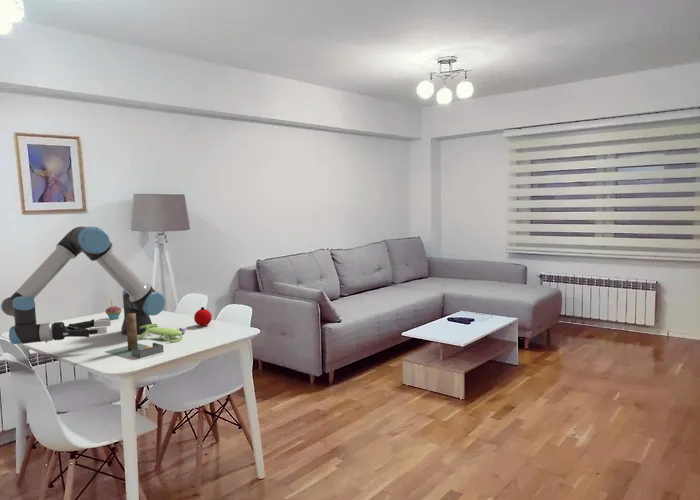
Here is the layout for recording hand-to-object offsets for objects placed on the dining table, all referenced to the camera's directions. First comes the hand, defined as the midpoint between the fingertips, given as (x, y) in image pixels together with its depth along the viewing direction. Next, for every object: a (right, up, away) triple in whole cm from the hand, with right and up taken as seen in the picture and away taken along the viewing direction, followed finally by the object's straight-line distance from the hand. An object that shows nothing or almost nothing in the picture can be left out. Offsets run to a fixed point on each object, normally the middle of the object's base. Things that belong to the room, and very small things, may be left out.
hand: (108, 326), depth 220 cm
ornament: (+27, -7, +50) cm, 58 cm away
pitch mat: (+8, -12, +3) cm, 15 cm away
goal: (+18, -12, -2) cm, 22 cm away
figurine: (+11, -10, +28) cm, 32 cm away
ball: (+18, -10, -2) cm, 21 cm away
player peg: (+9, -11, +4) cm, 15 cm away
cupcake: (-31, -7, +71) cm, 78 cm away
